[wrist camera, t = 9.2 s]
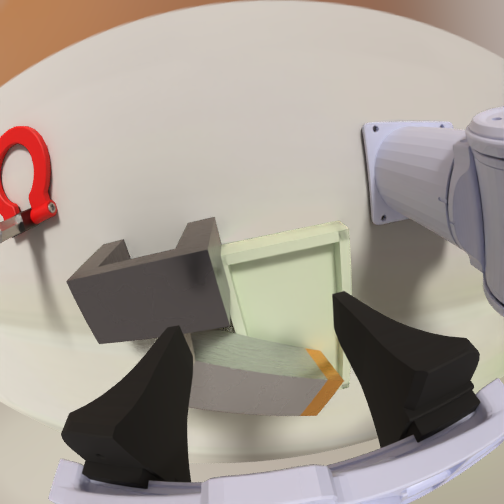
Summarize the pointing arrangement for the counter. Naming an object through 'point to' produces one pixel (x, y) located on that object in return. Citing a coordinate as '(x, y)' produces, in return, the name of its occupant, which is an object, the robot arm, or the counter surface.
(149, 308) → the bracket
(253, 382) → the pin
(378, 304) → the counter surface
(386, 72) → the counter surface
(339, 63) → the counter surface
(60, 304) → the counter surface
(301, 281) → the tray
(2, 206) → the tow hook
